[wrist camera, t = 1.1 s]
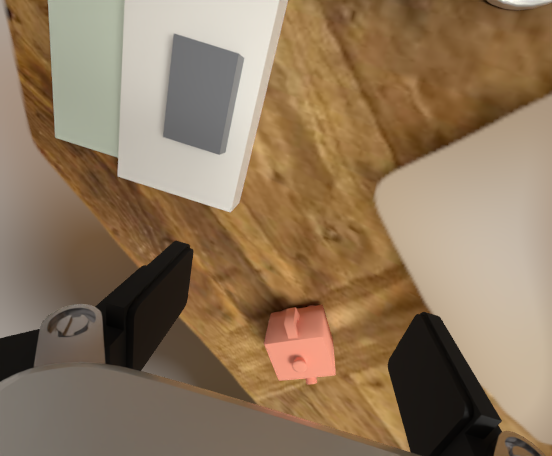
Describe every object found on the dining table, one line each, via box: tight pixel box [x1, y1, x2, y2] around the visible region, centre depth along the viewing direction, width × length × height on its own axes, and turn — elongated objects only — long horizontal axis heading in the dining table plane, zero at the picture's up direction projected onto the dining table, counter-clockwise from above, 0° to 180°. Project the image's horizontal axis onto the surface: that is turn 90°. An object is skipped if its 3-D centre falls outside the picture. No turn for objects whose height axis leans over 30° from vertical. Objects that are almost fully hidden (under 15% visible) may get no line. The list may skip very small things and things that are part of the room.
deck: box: [118, 0, 288, 212], centre depth 29 cm, size 22×14×4 cm, turn 164°
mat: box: [48, 0, 125, 157], centre depth 31 cm, size 20×10×1 cm, turn 164°
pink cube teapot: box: [264, 305, 336, 384], centre depth 38 cm, size 8×12×8 cm, turn 17°
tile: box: [163, 34, 244, 155], centre depth 26 cm, size 9×6×2 cm, turn 164°
